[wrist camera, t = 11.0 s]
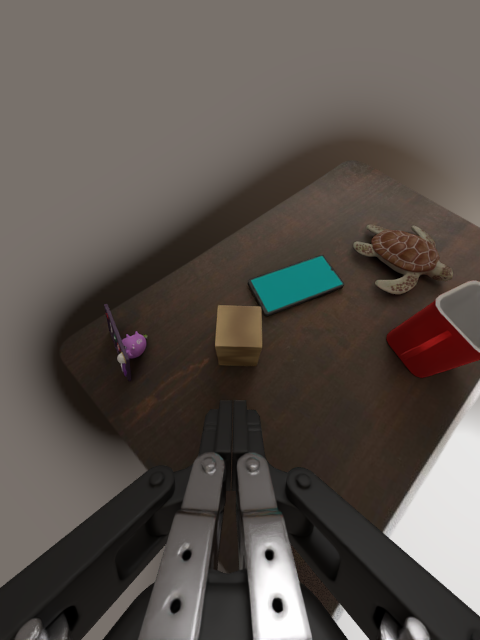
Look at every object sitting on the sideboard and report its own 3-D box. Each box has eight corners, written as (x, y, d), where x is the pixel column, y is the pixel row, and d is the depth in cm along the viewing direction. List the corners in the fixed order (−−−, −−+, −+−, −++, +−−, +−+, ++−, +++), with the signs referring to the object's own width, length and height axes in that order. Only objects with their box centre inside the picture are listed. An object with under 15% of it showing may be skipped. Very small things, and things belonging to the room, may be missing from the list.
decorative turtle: (425, 320, 39) (450, 305, 34) (334, 269, 43) (346, 249, 39) (457, 254, 45) (482, 234, 41) (376, 215, 50) (390, 193, 45)
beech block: (218, 365, 35) (214, 346, 28) (221, 330, 37) (217, 305, 30) (256, 366, 35) (262, 347, 28) (256, 331, 37) (261, 306, 30)
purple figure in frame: (97, 305, 31) (119, 363, 28) (138, 296, 34) (162, 348, 31) (103, 332, 36) (123, 384, 33) (139, 322, 39) (160, 369, 36)
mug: (418, 316, 39) (477, 276, 30) (458, 360, 36) (539, 332, 26) (360, 344, 37) (404, 312, 27) (397, 395, 33) (462, 377, 24)
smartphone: (247, 279, 40) (322, 254, 43) (247, 282, 41) (321, 257, 44) (266, 315, 38) (345, 285, 40) (265, 317, 38) (343, 288, 41)
